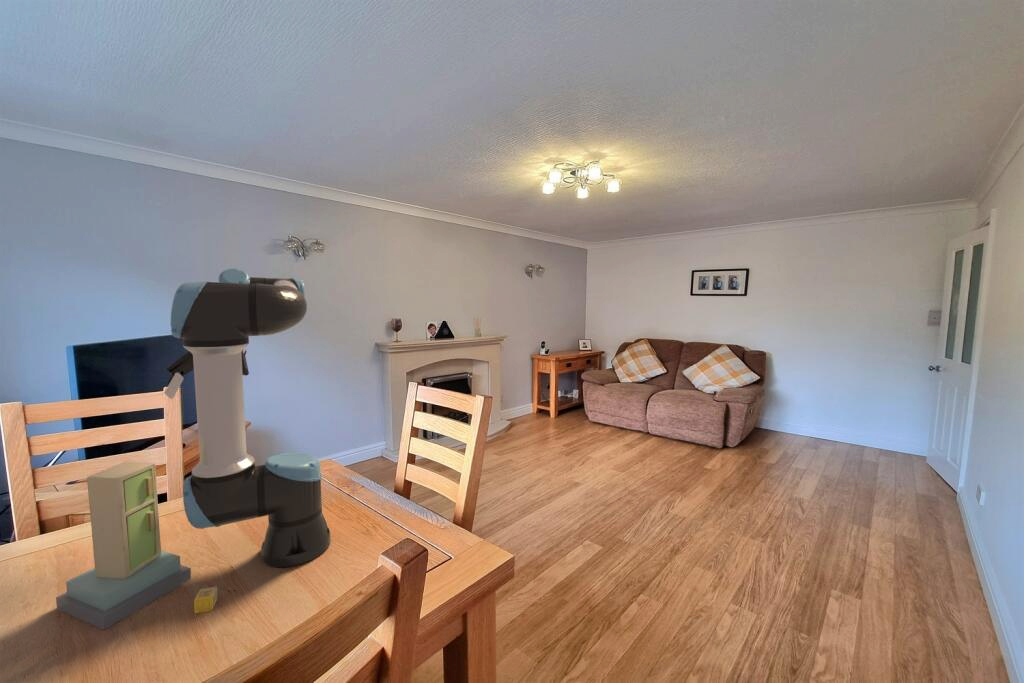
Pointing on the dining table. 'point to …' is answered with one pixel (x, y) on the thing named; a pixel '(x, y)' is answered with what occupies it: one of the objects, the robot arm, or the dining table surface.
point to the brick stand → (121, 591)
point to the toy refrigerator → (124, 519)
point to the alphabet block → (205, 599)
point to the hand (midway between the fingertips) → (196, 395)
